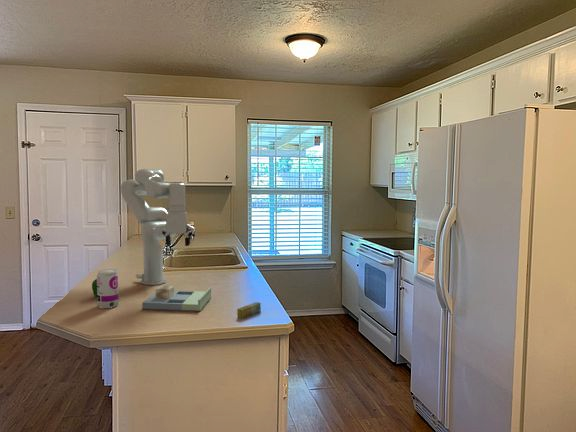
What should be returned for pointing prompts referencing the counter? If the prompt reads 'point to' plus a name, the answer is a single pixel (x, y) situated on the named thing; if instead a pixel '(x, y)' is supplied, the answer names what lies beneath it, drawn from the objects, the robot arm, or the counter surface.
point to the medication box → (248, 310)
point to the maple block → (165, 292)
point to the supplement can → (107, 288)
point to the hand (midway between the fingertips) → (177, 245)
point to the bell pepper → (94, 287)
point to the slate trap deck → (179, 301)
